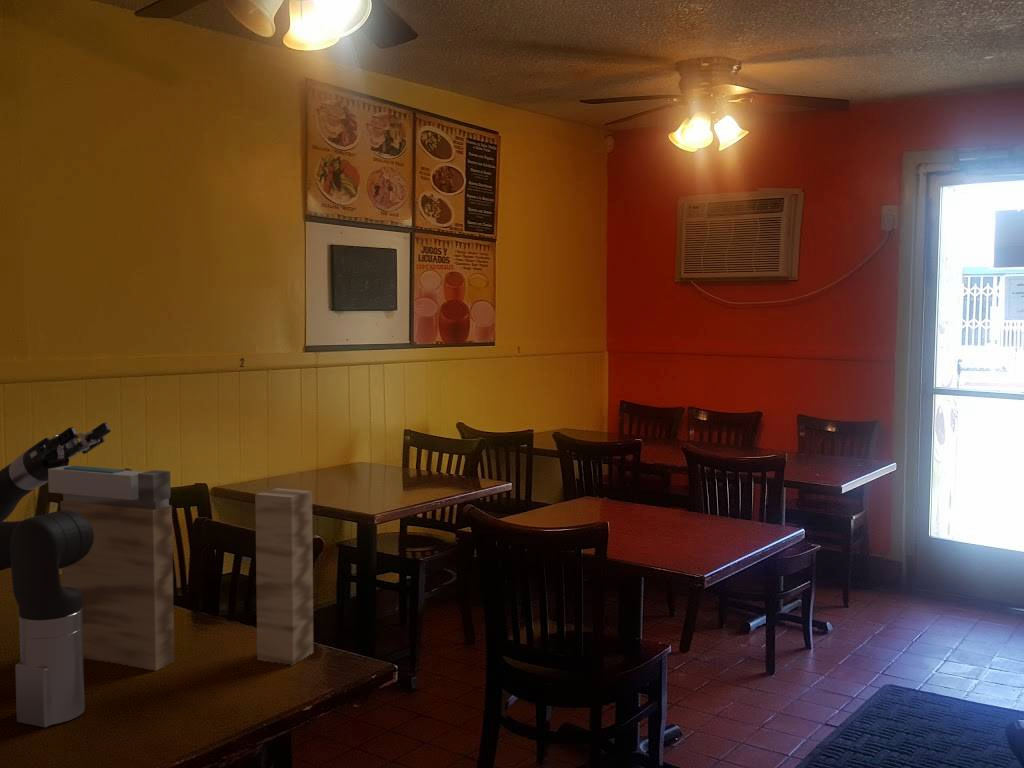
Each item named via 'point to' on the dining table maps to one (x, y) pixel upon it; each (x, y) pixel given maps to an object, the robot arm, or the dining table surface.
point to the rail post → (127, 575)
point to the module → (94, 482)
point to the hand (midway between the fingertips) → (91, 429)
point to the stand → (284, 575)
